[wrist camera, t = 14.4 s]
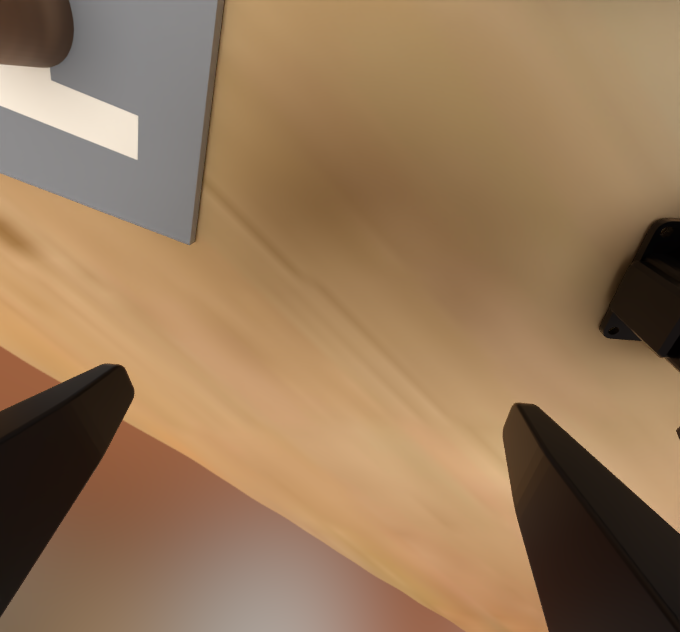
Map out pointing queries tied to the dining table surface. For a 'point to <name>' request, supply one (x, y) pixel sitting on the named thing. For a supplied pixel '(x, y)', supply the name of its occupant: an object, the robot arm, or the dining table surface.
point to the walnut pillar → (35, 32)
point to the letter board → (120, 112)
